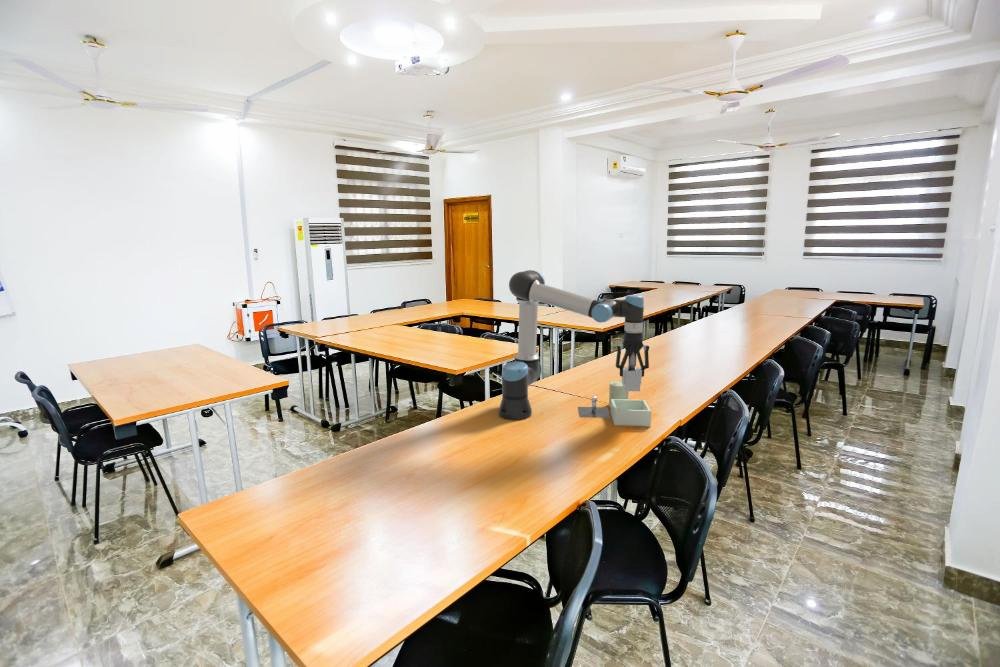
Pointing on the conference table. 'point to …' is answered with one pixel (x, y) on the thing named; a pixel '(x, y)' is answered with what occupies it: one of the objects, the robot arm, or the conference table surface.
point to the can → (617, 391)
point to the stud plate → (594, 415)
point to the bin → (630, 412)
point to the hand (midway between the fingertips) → (631, 383)
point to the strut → (632, 375)
